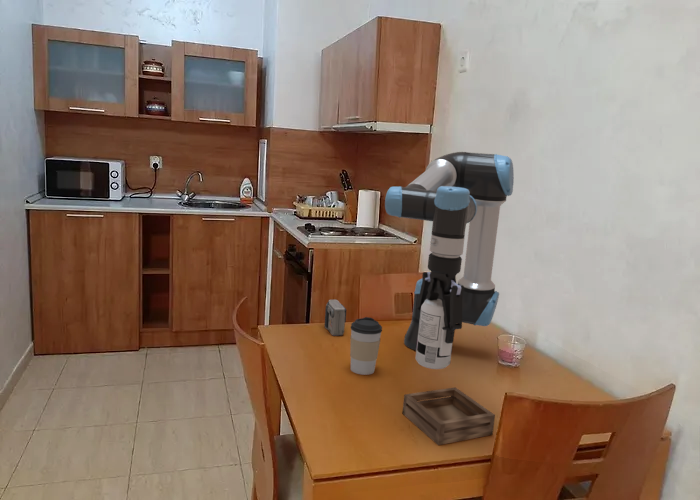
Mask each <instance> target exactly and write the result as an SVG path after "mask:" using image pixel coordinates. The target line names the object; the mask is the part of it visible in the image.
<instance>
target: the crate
mask: <svg viewBox="0 0 700 500" xmlns="http://www.w3.org/2000/svg"><path fill="white" fill-rule="evenodd" d="M401 413H402V415H403V416H405V417H406V418H407V419H408V420H409V421H410V422H411V423H413V424H414V425H415V426H416V427H417V428H418V429H419V430H421V432H423V433H424V434H425V435H426V436H427V437H428V438H429V439H430V440H432V441H433V442H434V443H435V444H436V445H437V446H440V445H446V444H451V443H456V442H461V441H467V440H472V439H477V438H481V437H486V436H492V435H493V433H494V425H495V418H496V414H495V413H494V412H491V410H489V409H487V408H485V406H483V405H481V404H480V403H479V402H477V401H476V400H474V399H473V398H471V397H470V396H469V395H467V394H466V393H464V392H463V391H462V390H460V389H459V388H457V387H449V388H441V389H435V390H428V391H420V392H419V391H418V392H413V393H412V392H411V393H407V394H406V393H405V394H404V396H403V404H402V411H401Z"/></svg>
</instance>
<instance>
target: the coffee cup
mask: <svg viewBox="0 0 700 500" xmlns="http://www.w3.org/2000/svg"><path fill="white" fill-rule="evenodd" d="M350 325H351V326H350V331H351V335H350V355H349V356H350V371H351V372H353V373H355V374H358V375H365V376H366V375H367V376H368V375H372V374H374V372H375V369H376V364H377V359H378V355H379V354H378V353H379V351H380V350H379V349H380V344H381V335H382V332H383V326H382V325H381V324H380V323H379V322H378V321H377V320H375V319H374V318H373V317H370V316H369V317H368V316H366V317H365V316H364V317H362V318H357V319H354V321H353V322H352V323H351V324H350Z"/></svg>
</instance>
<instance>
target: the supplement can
mask: <svg viewBox="0 0 700 500" xmlns="http://www.w3.org/2000/svg"><path fill="white" fill-rule="evenodd" d="M449 324H450V323H449ZM442 327H445V324H444V311H443V307H442V300H441V299H437V300H428V299H426V300H425V302H424V303H423V304H422V306H421V313H420V322H419V331H418V340H417V349H416V350H415V360H416V362H417V363H418V365H420V366H421V367H424V368H427V369H432V370H443V369H446V368H447V367H448V366H449V365H450V364H451V358H452V354H451V355H449V356H440V355H439V351H440V343H441V334H442ZM453 343H454V342H453ZM453 343H452V345H453ZM452 350H453V348H452V349H451V353H452V352H453V351H452Z"/></svg>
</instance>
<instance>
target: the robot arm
mask: <svg viewBox="0 0 700 500" xmlns="http://www.w3.org/2000/svg"><path fill="white" fill-rule="evenodd" d="M513 191H514V164H513V161H512V159H511V157H510V156H507V155H501V154H497V153H479V152H467V151H456V152H451V153H448V154H445V155H441V156H439V157H437V158H435V159H434V160H432V161H431V162H429V164H427V166H426V168H425V171H424V172H423V173H421V174H420V175H418V176H417V177H416V178H415V179H414V180H413V181H411V182H410V183H409V184H407V186H390V187H389V189H387V192H386V194H385V200H384V209H385V212H386V214H387V215H388V216H392V217H398V218H401V219H402V218H403V219H412V220H419V221H428V222H432V227H431V238H430V241H429V242H430V245H429V251H430V253H429V254H428V260H427V269H428V270H429V271H426V272H425V271H424V272H422V278H420V279H418V280H417V281H416V283H415V287H414V288H415V289H414V292H413V293H414V296H413V304H412V305H413V306H412V316H411V322H410V323H409V326H408V329H407V331H406V333H405V335H404V338H403V339H404V340H403V344H404V345H405V346H406V347H407V348H408V349H411V350H414V351H416V349H417V340H418V331H419V322H420V313H421V306H422V304H423V303H424V302H425V300H426V299H428V300H437V299H441V300H442V307H443V311H444V324H445V327H442V334H441V343H440V351H439V355H440V356H449V355H451V356H452V352H451V349H452V350H453V344H452V343H454V340H455V339H454V337H455V331H456V330H462V327H463V323H464V324H468V325H473V326H479V327H488V326H489V325H491V322H492V321H493V318H494V314H495V312H496V309H497V304H498V302H499V296H500V292H498V291H497V290H495V288H496V284H495V283H494V282H493V281H492V274H493V267H494V259H495V251H496V250H495V249H496V242H497V233H498V226H499V218H500V210H501V206H502V205H503V204H505V202H506V201H507V197H509V196H511V195H513ZM467 224H469V225H468V235H467V242H466V252H465V260H464V267H463V276H462V277H461V278H459V279H458V281H457V277H456V276H457V275H458V274H460V273H461V269H462V262H463V261H462V260H463V259H462V257H461V256H462V255H463V253H464V247H465V235H466V227H467ZM449 323H450V324H449Z"/></svg>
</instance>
